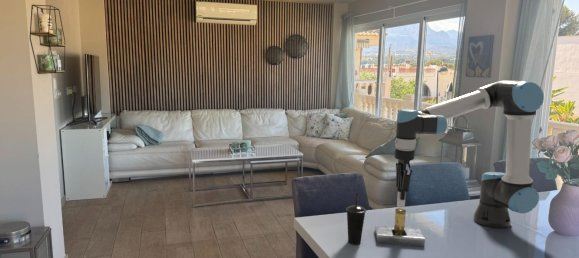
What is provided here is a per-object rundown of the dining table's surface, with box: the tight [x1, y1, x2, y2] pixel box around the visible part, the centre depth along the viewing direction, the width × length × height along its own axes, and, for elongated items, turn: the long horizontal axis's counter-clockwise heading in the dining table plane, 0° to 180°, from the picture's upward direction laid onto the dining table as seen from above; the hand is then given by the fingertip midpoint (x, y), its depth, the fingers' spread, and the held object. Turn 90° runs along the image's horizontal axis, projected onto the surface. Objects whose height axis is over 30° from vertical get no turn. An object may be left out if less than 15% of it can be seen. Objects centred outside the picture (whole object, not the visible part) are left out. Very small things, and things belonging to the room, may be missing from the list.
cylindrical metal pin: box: [393, 207, 407, 236], centre depth 168 cm, size 4×4×12 cm
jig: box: [374, 225, 426, 247], centre depth 168 cm, size 18×12×3 cm, turn 83°
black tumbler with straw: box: [345, 192, 367, 246], centre depth 162 cm, size 8×8×20 cm
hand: (400, 206), depth 166 cm, fingers closed
